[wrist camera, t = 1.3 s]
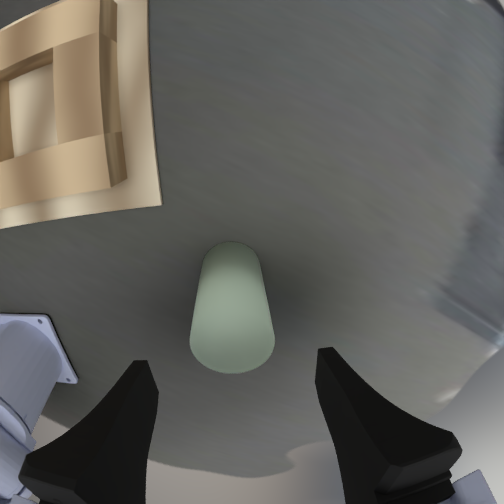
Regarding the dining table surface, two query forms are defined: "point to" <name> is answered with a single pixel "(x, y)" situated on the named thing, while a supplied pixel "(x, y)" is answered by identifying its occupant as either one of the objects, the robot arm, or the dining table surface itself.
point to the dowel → (231, 311)
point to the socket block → (76, 112)
